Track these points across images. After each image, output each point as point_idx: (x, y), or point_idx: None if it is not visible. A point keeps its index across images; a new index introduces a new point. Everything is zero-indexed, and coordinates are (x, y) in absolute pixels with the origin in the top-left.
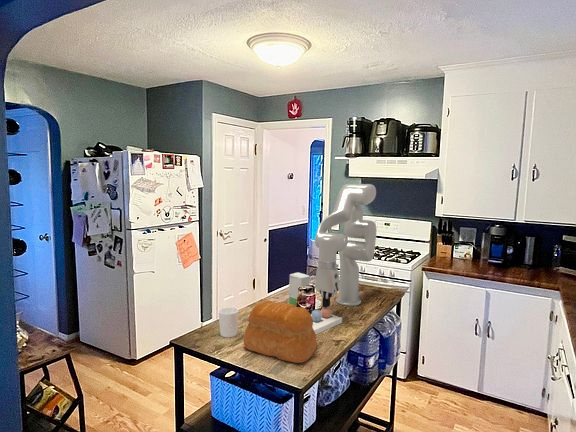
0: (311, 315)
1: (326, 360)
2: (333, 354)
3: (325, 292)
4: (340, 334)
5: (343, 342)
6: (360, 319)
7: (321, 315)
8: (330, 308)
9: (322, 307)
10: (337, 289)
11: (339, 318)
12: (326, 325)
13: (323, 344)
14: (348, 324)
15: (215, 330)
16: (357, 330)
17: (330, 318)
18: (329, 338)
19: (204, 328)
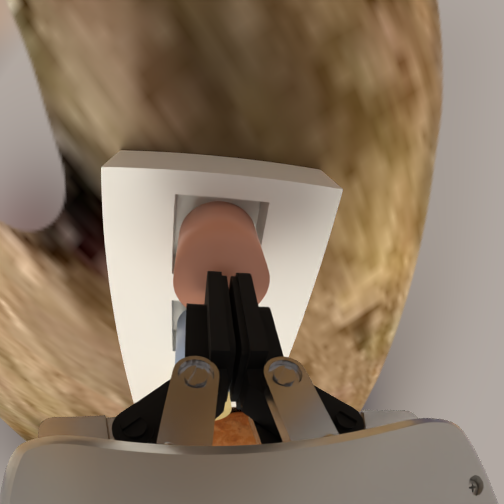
0: (125, 293)
1: (356, 404)
2: (366, 382)
3: (193, 421)
4: (352, 273)
5: (381, 319)
6: (375, 2)
7: (172, 241)
8: (262, 267)
9: (181, 293)
10: (438, 430)
11: (328, 210)
12: (294, 335)
13: (318, 370)
14: (347, 122)
15: (30, 429)
16: (414, 177)
17: (269, 252)
18: (320, 330)
19: (13, 427)
